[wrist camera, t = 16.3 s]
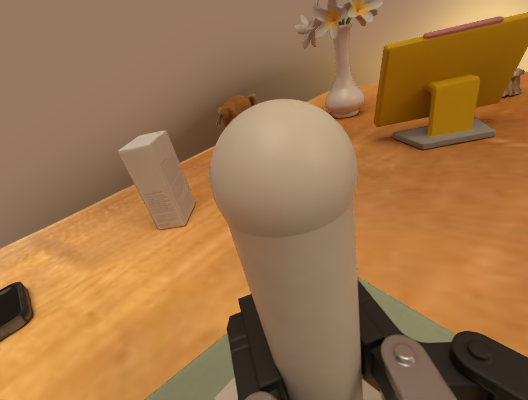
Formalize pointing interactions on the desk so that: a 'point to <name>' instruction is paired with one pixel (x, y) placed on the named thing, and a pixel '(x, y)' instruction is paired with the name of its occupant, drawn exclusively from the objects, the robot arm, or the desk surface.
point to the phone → (14, 308)
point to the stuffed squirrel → (235, 107)
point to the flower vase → (340, 49)
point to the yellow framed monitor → (449, 79)
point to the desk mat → (221, 368)
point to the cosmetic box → (159, 179)
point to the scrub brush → (296, 242)
